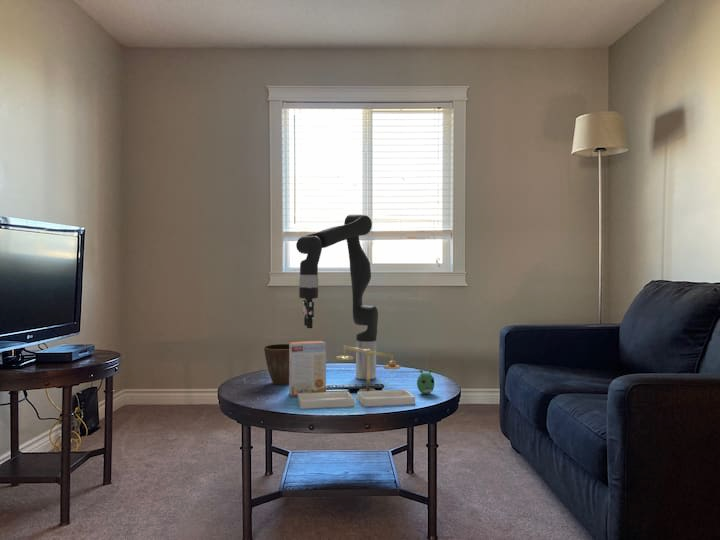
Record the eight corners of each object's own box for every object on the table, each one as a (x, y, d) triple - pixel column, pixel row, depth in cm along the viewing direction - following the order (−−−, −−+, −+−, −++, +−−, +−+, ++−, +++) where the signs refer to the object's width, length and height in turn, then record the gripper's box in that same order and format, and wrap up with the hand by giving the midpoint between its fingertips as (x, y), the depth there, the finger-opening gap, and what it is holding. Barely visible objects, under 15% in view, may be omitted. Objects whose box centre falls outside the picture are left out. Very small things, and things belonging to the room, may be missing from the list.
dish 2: (357, 398, 201) (357, 391, 201) (405, 396, 206) (405, 389, 205) (363, 406, 190) (363, 399, 190) (415, 404, 194) (415, 396, 194)
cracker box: (322, 391, 213) (322, 340, 212) (326, 394, 207) (326, 342, 207) (288, 393, 208) (288, 341, 208) (291, 397, 202) (292, 343, 202)
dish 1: (297, 400, 197) (297, 393, 197) (348, 398, 202) (348, 391, 202) (300, 408, 186) (300, 401, 186) (354, 406, 190) (354, 398, 190)
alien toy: (420, 396, 205) (421, 371, 205) (414, 392, 213) (414, 367, 213) (437, 396, 207) (437, 371, 207) (430, 391, 214) (430, 367, 214)
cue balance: (334, 393, 209) (334, 344, 209) (397, 390, 215) (398, 343, 215) (337, 397, 202) (337, 347, 202) (402, 394, 208) (403, 345, 208)
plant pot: (274, 389, 215) (275, 350, 215) (257, 382, 227) (257, 345, 227) (305, 384, 225) (305, 347, 225) (286, 378, 236) (287, 343, 236)
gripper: (297, 285, 213) (297, 325, 213) (301, 286, 199) (300, 329, 199) (315, 285, 215) (315, 324, 215) (320, 286, 201) (320, 328, 201)
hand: (308, 326), depth 207 cm, fingers open, 8 cm apart
